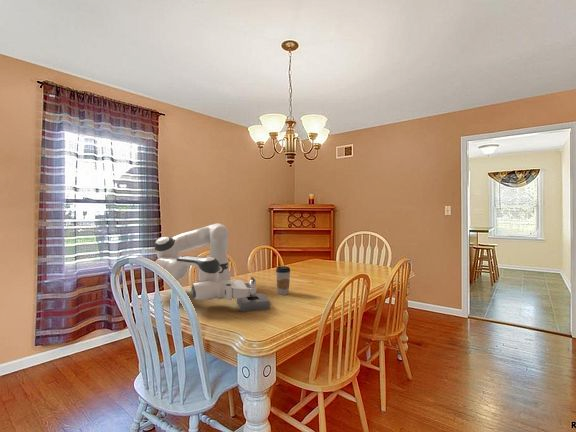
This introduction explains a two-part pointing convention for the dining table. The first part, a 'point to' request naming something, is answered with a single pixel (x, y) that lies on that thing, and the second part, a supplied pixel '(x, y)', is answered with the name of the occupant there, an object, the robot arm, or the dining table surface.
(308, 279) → the dining table surface
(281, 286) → the coffee cup
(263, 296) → the block
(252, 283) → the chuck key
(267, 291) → the dining table surface
